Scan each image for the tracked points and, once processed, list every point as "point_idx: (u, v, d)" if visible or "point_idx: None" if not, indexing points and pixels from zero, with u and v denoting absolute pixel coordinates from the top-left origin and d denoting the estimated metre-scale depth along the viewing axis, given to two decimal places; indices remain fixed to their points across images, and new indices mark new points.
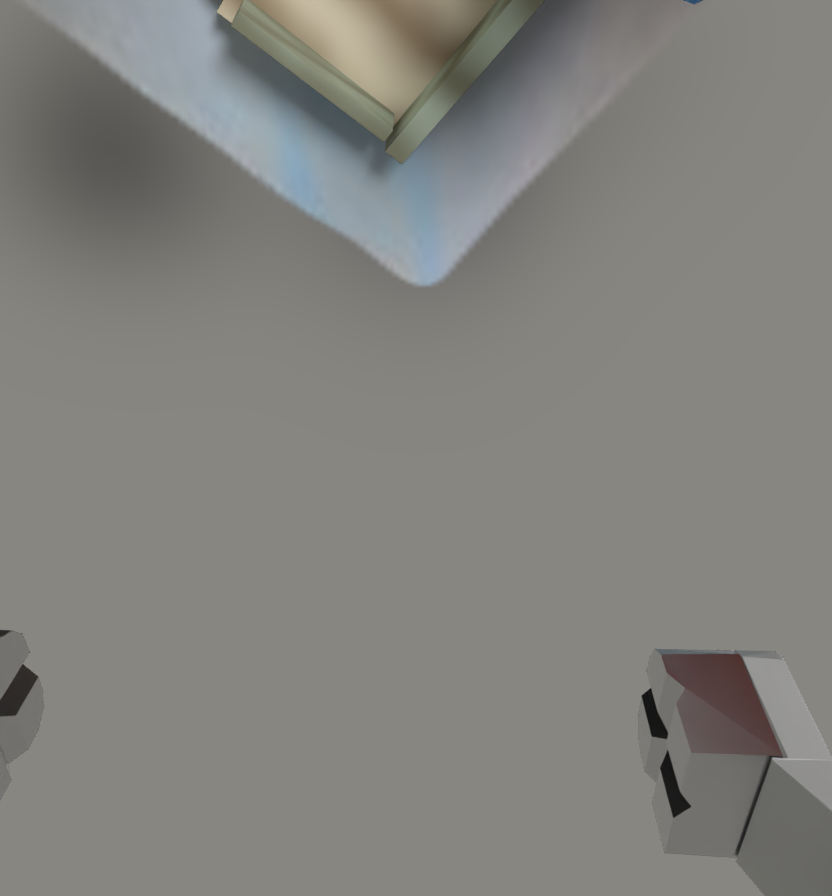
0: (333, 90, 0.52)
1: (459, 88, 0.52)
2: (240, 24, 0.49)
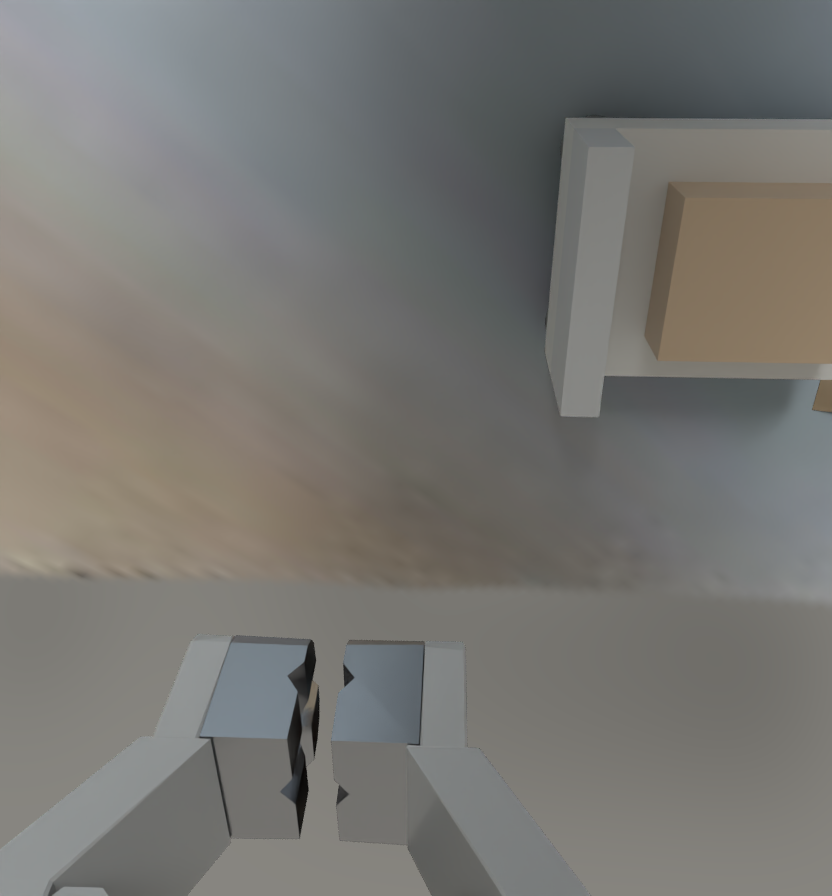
0: None
1: None
2: None
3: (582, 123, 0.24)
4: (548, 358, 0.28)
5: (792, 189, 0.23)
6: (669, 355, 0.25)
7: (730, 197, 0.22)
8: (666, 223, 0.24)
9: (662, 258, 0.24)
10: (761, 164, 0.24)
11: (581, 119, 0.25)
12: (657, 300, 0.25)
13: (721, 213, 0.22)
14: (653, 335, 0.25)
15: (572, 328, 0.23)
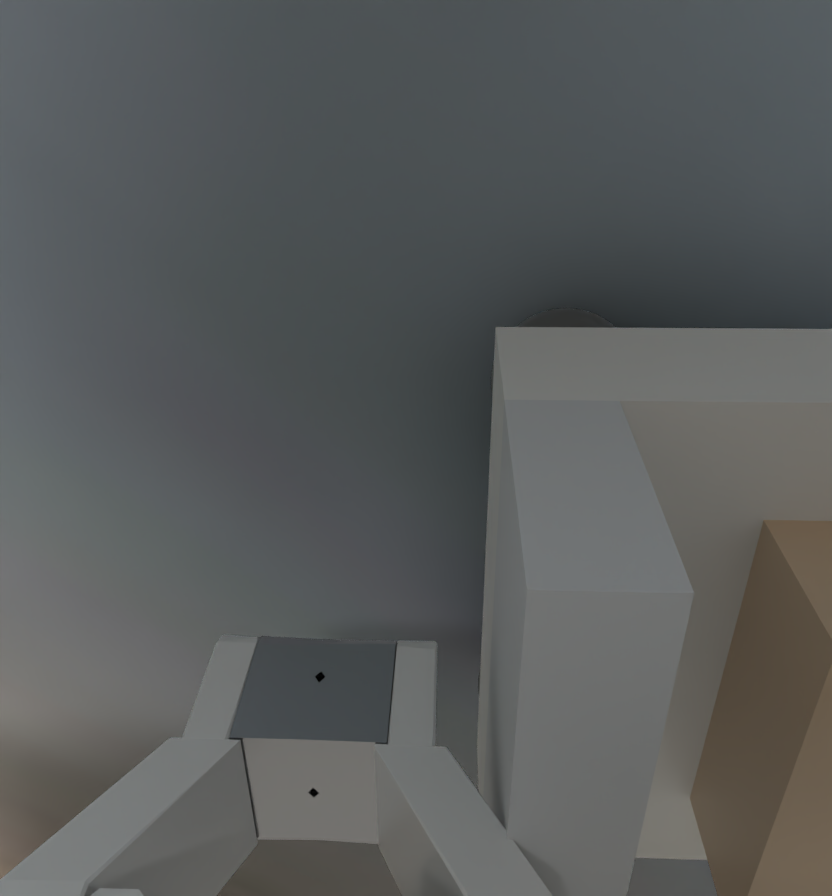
0: None
1: None
2: None
3: (532, 364, 0.09)
4: None
5: None
6: None
7: None
8: (757, 625, 0.09)
9: (743, 700, 0.09)
10: None
11: (534, 336, 0.10)
12: (728, 783, 0.10)
13: None
14: (716, 848, 0.10)
15: None
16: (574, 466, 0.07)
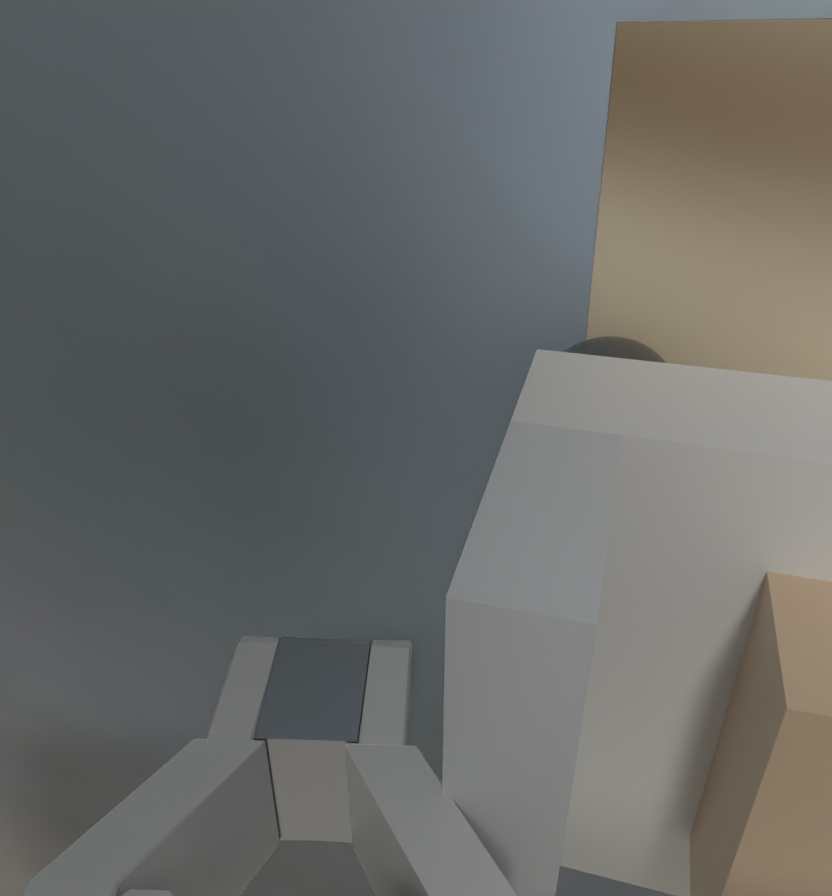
0: None
1: None
2: None
3: (554, 389, 0.09)
4: None
5: None
6: None
7: None
8: (748, 675, 0.09)
9: (731, 747, 0.09)
10: None
11: (569, 362, 0.10)
12: (712, 827, 0.10)
13: None
14: (696, 890, 0.10)
15: None
16: (545, 492, 0.08)
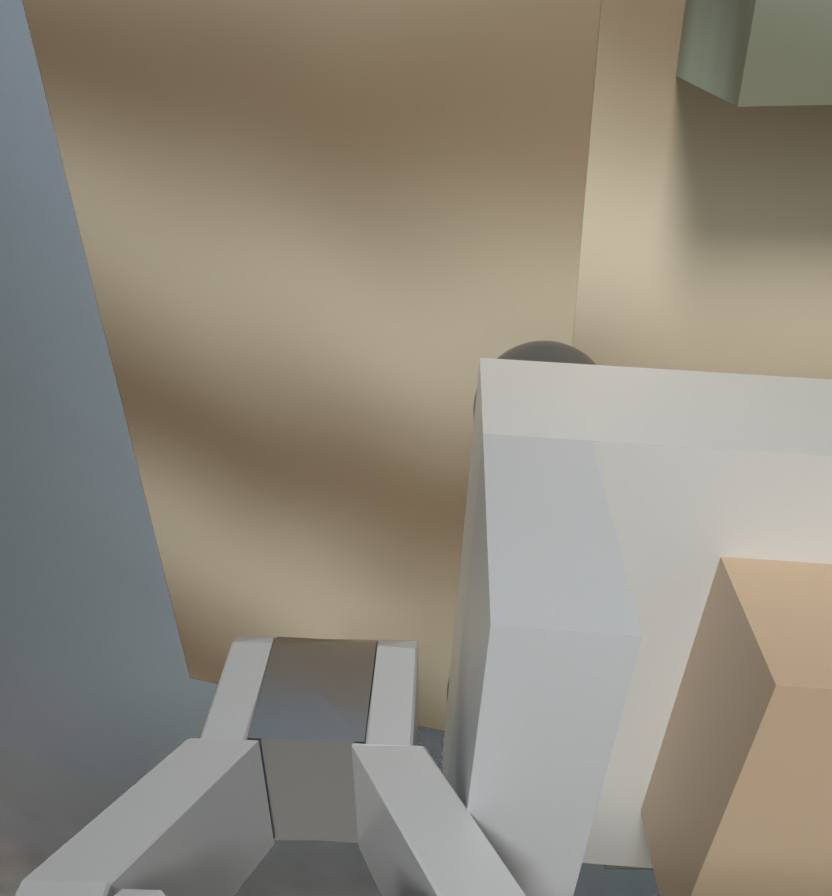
0: None
1: None
2: None
3: (512, 398, 0.10)
4: None
5: None
6: None
7: None
8: (709, 654, 0.10)
9: (693, 723, 0.10)
10: None
11: (515, 370, 0.10)
12: (676, 799, 0.11)
13: None
14: (661, 859, 0.11)
15: None
16: (543, 505, 0.08)
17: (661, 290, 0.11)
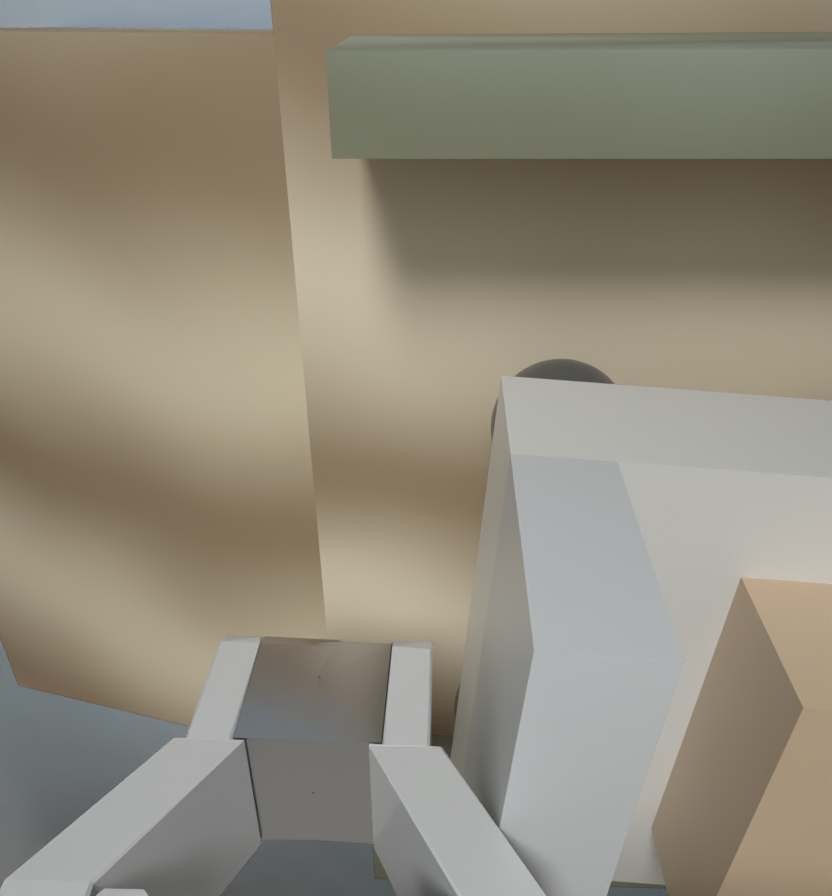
0: None
1: None
2: None
3: (536, 418, 0.10)
4: None
5: None
6: None
7: None
8: (728, 674, 0.10)
9: (710, 742, 0.10)
10: None
11: (537, 388, 0.10)
12: (691, 817, 0.11)
13: None
14: (675, 878, 0.11)
15: None
16: (576, 527, 0.08)
17: (379, 321, 0.12)
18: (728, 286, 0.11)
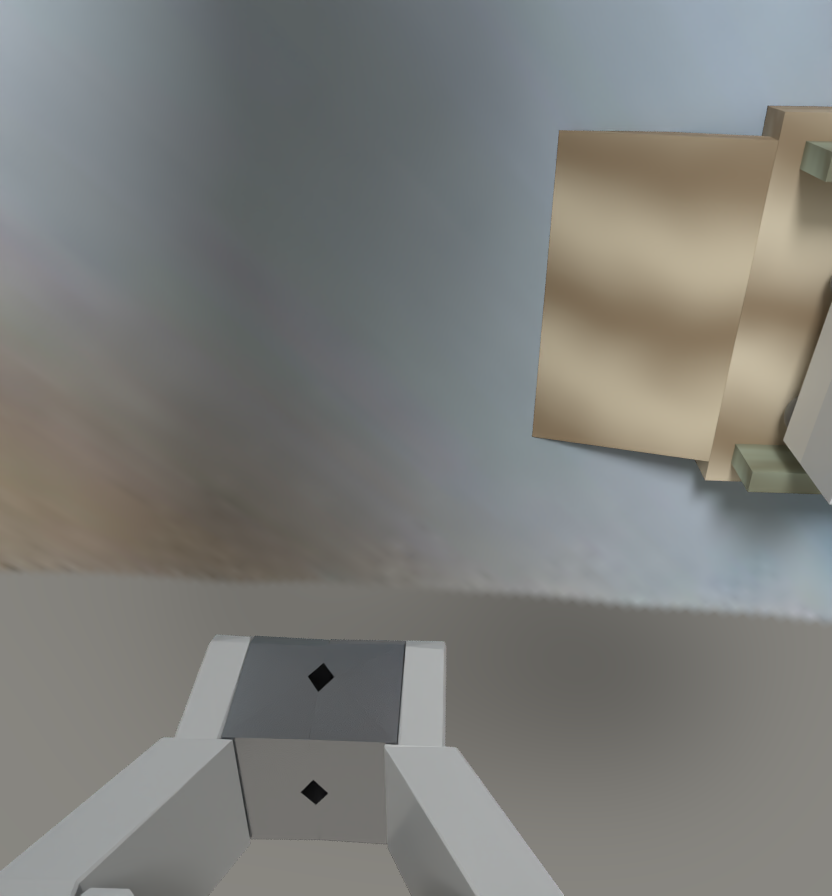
0: None
1: None
2: (760, 483, 0.34)
3: None
4: (795, 448, 0.33)
5: None
6: None
7: None
8: None
9: None
10: None
11: None
12: None
13: None
14: None
15: None
16: None
17: (787, 242, 0.32)
18: None
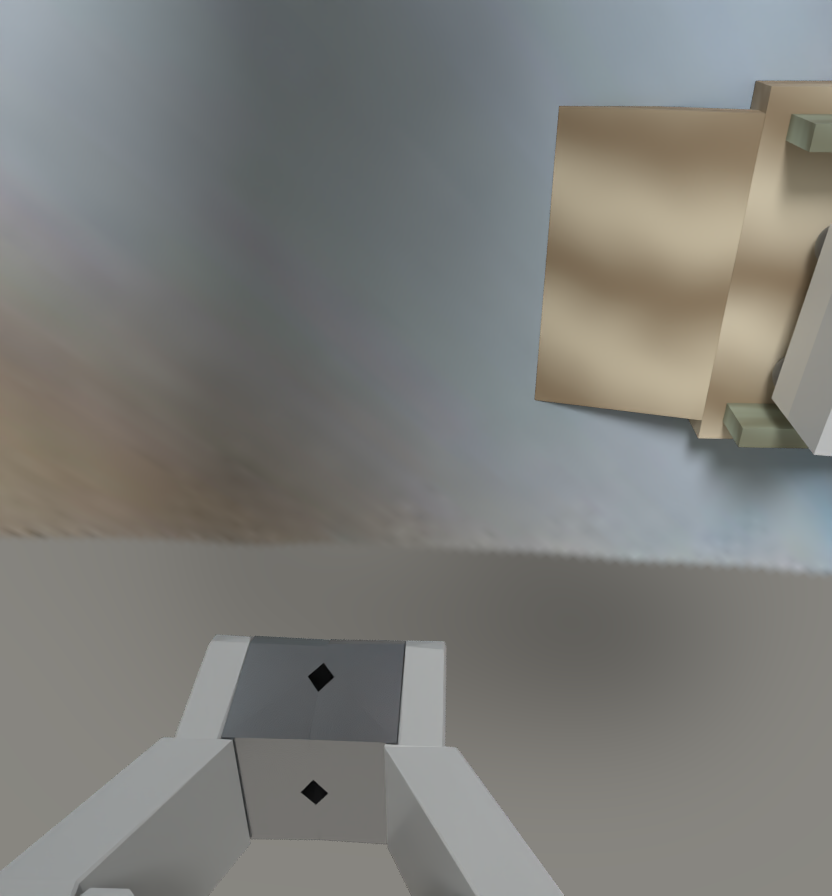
0: None
1: None
2: (750, 438, 0.36)
3: None
4: (782, 405, 0.35)
5: None
6: None
7: None
8: None
9: None
10: None
11: None
12: None
13: None
14: None
15: None
16: None
17: (774, 210, 0.34)
18: None
